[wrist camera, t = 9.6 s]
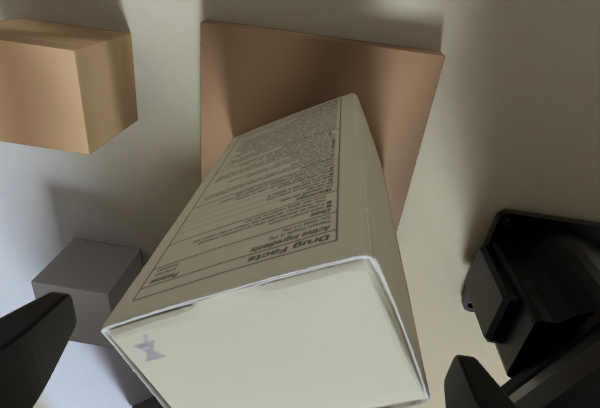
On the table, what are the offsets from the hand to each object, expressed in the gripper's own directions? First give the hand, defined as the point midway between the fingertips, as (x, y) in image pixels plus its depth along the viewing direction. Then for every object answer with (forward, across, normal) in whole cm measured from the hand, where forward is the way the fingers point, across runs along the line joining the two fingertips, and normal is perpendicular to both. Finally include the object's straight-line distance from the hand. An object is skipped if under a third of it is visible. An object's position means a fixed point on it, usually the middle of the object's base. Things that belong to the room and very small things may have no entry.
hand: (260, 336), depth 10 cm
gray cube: (+12, +11, +10) cm, 19 cm away
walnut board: (+12, 0, 0) cm, 12 cm away
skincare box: (+11, 0, 0) cm, 11 cm away
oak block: (+12, +11, -2) cm, 17 cm away
